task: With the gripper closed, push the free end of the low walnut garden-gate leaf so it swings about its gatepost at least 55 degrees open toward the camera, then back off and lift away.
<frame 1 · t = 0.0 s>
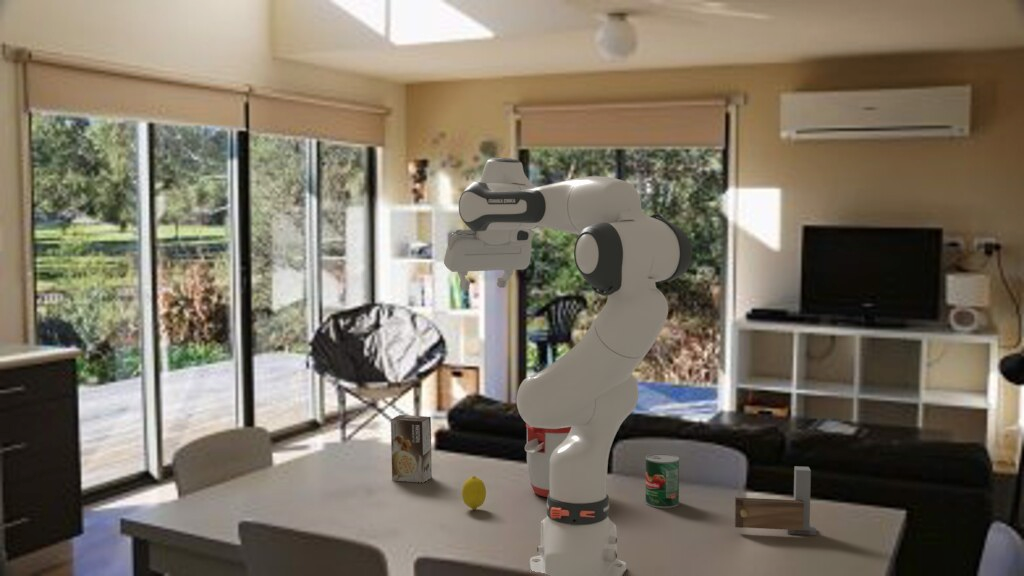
hand: (483, 287, 215), 52 cm above the table, tool tilted 20°, fingers open, 8 cm apart
gatepost: (804, 536, 205), on the table
citrus juicer: (554, 494, 236), on the table
coffee box: (411, 479, 249), on the table
canned tomato: (661, 504, 228), on the table
gate leaf: (769, 515, 205), point 5 cm above the table, hinge at 0.0°
lemon: (474, 510, 223), on the table
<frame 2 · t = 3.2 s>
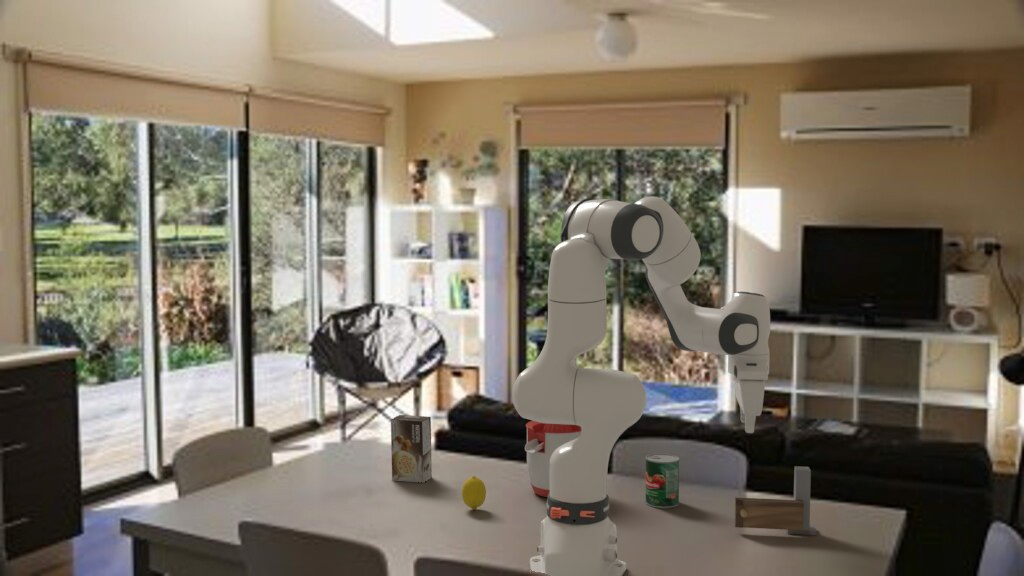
hand: (747, 427, 212), 21 cm above the table, tool pointing down, fingers open, 8 cm apart
nothing on the table moved.
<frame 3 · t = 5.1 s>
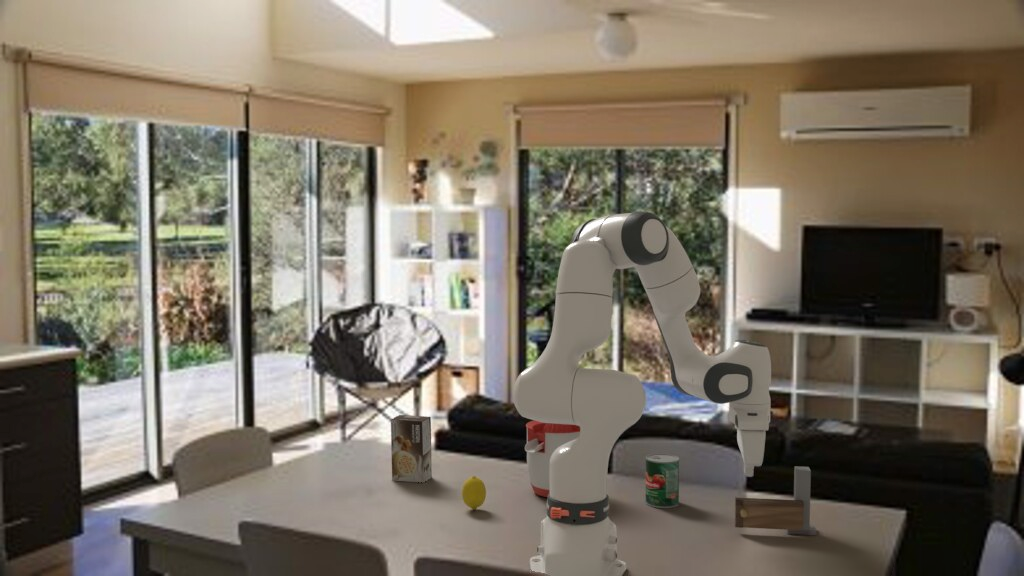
hand: (748, 474, 213), 11 cm above the table, tool pointing down, fingers closed
nothing on the table moved.
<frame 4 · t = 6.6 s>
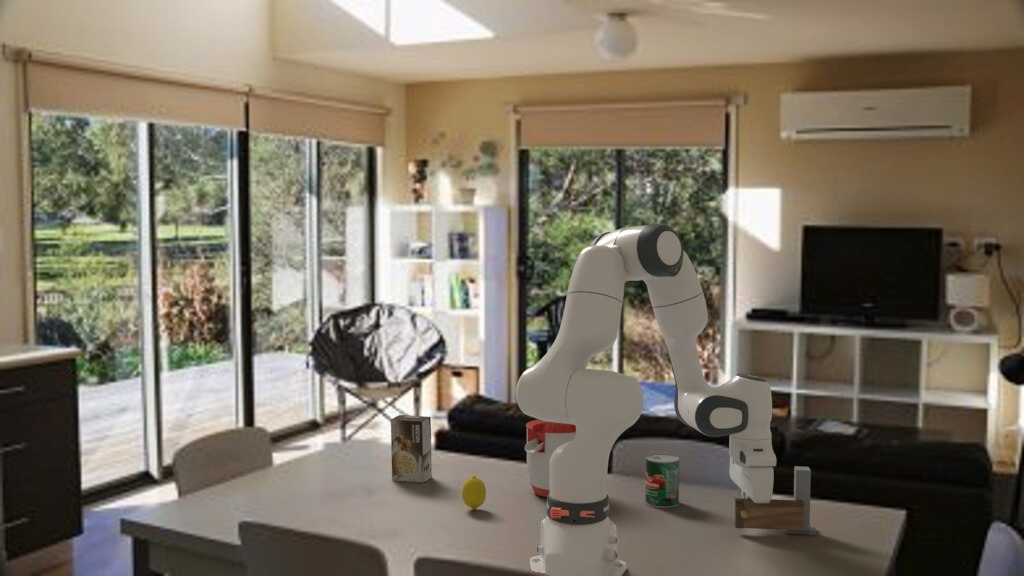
hand: (748, 511, 209), 4 cm above the table, tool pointing down, fingers closed
gate leaf: (769, 515, 205), point 4 cm above the table, hinge at 2.1°, touching gripper
everything else where it was.
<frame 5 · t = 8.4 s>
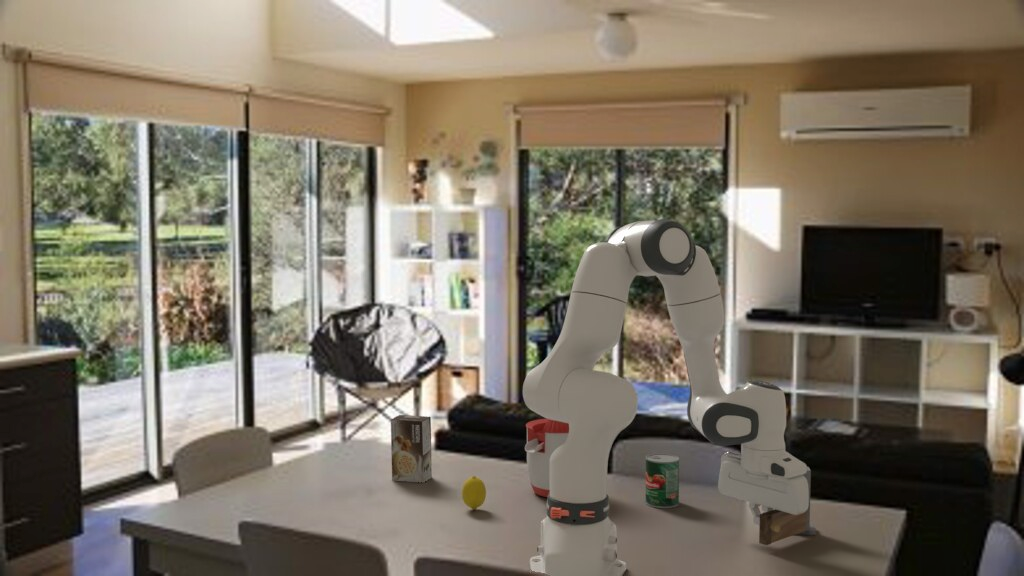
hand: (760, 524, 200), 4 cm above the table, tool pointing down, fingers closed
gate leaf: (787, 523, 199), point 4 cm above the table, hinge at 48.2°, touching gripper
everything else where it was.
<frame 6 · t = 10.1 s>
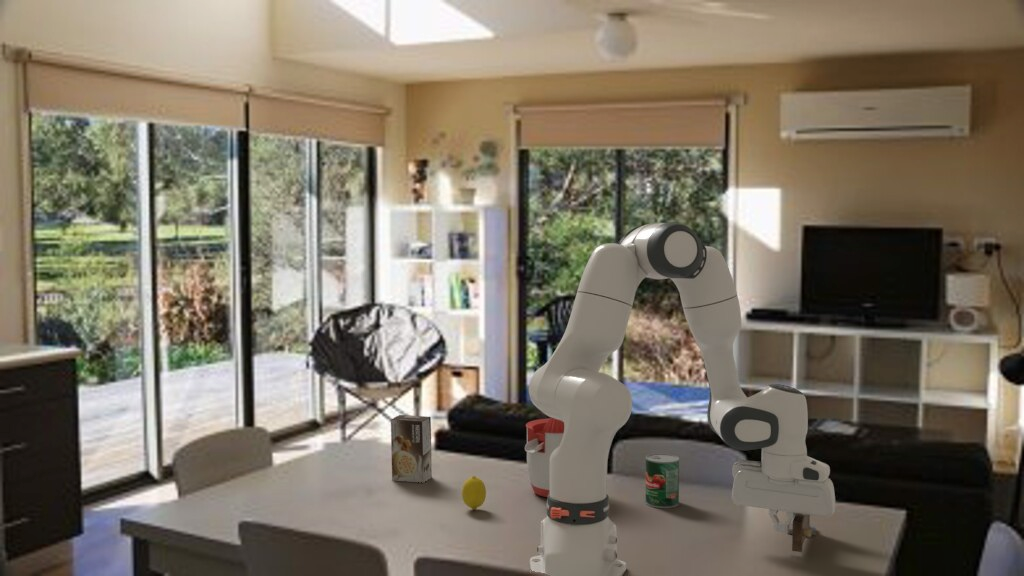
hand: (781, 531, 196), 4 cm above the table, tool pointing down, fingers closed
gate leaf: (804, 526, 198), point 4 cm above the table, hinge at 76.5°, touching gripper
everything else where it was.
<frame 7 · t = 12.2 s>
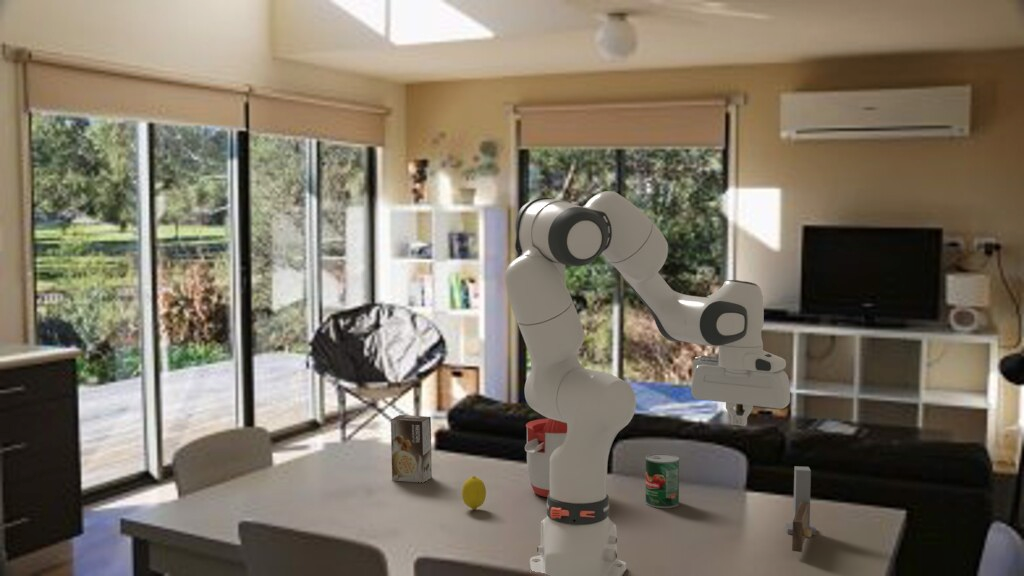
hand: (738, 424, 200), 25 cm above the table, tool pointing down, fingers closed
gate leaf: (805, 526, 198), point 4 cm above the table, hinge at 76.5°
everything else where it was.
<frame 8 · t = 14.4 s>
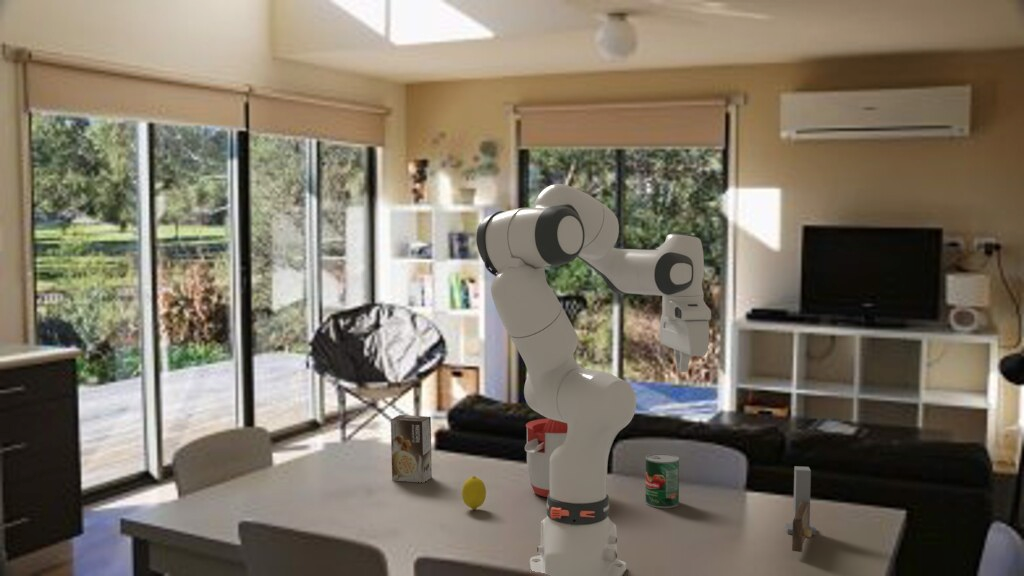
hand: (682, 370, 211), 34 cm above the table, tool pointing down, fingers closed
nothing on the table moved.
at the end: gate leaf at +76° (first picture: +0°); canned tomato moved 0.2 cm from its start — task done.
